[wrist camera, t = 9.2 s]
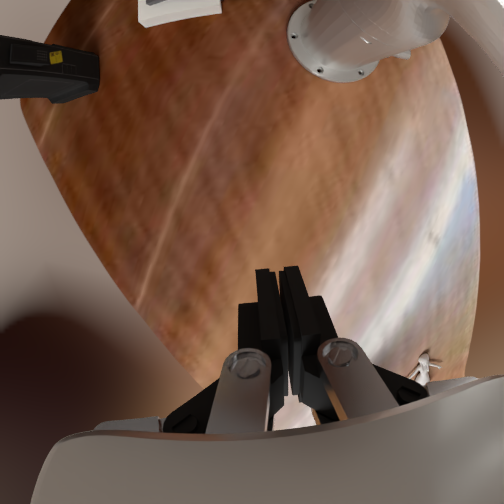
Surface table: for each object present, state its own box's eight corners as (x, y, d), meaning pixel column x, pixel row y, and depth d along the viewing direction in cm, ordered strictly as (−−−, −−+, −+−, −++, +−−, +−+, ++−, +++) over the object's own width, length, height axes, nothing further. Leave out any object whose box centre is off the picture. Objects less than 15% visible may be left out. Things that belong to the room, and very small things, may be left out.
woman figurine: (404, 412, 57) (406, 371, 51) (398, 400, 61) (399, 358, 55) (441, 393, 56) (449, 350, 49) (435, 383, 60) (440, 339, 54)
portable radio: (105, 49, 27) (-31, 10, 4) (107, 88, 29) (-42, 82, 7) (60, 67, 27) (-76, 61, 4) (62, 104, 29) (-80, 123, 7)
